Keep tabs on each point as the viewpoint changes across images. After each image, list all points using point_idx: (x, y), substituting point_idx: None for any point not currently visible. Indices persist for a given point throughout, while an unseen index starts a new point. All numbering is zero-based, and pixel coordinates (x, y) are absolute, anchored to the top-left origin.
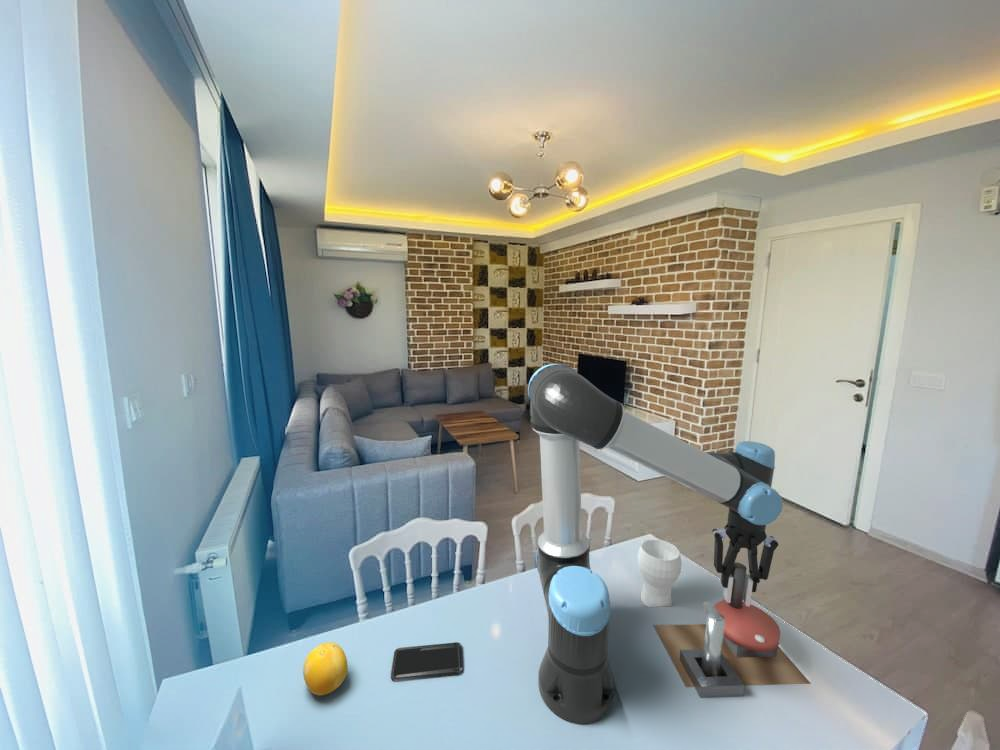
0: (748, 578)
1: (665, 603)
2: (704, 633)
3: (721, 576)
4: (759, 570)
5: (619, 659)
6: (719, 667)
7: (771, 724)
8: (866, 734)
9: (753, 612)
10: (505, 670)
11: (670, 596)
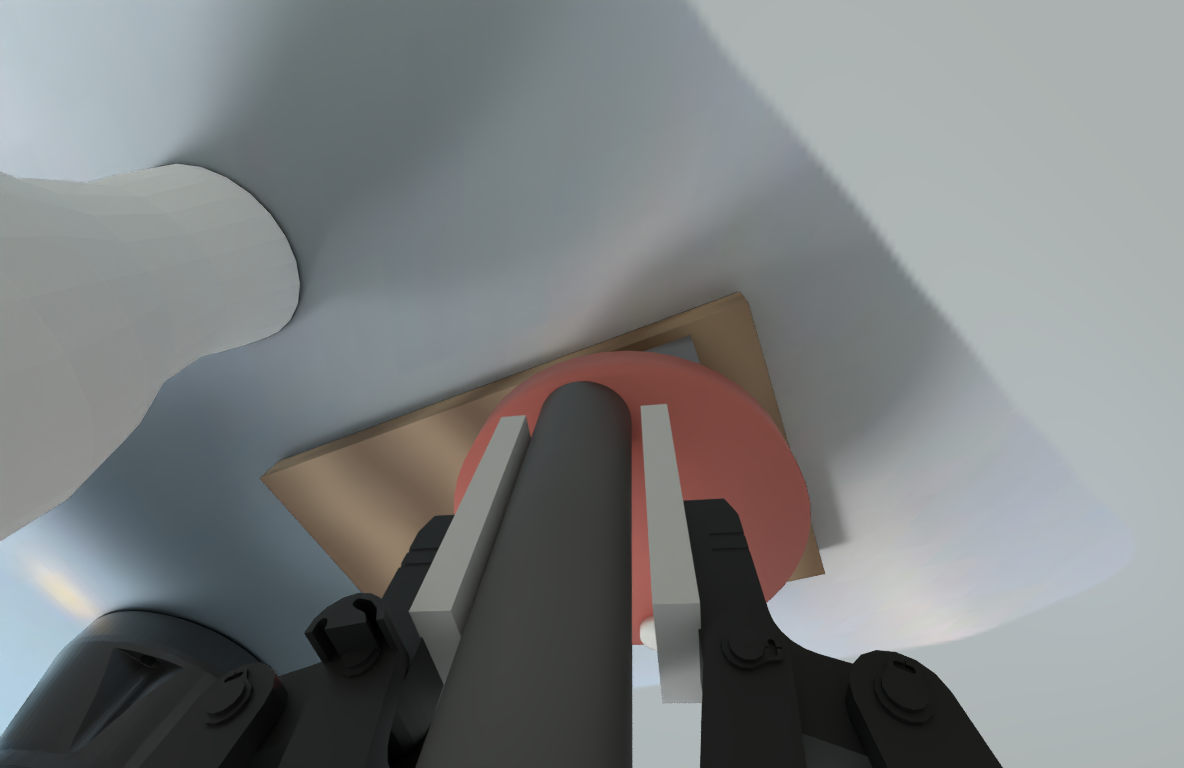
0: (663, 673)
1: (250, 336)
2: (462, 460)
3: (391, 586)
4: (868, 761)
5: (235, 590)
6: None
7: (641, 659)
8: (901, 636)
9: (693, 465)
10: (31, 669)
11: (244, 300)
